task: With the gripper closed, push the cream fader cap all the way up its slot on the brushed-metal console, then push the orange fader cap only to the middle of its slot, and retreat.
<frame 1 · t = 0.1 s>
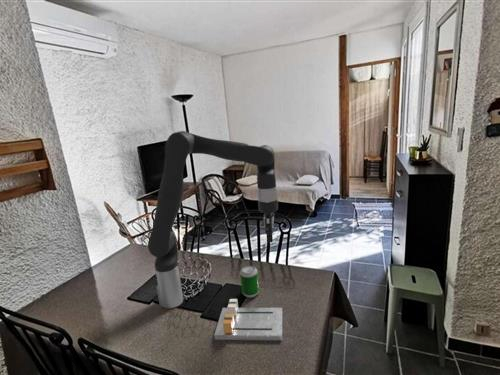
hand: (270, 237, 116), 29 cm above the table, fingers open, 8 cm apart
fader cap orange: (228, 322, 107), point 5 cm above the table, slide at 0.0 cm
soda can: (250, 293, 131), on the table
fader cap cream: (232, 306, 115), point 5 cm above the table, slide at 0.0 cm
console: (250, 325, 111), on the table
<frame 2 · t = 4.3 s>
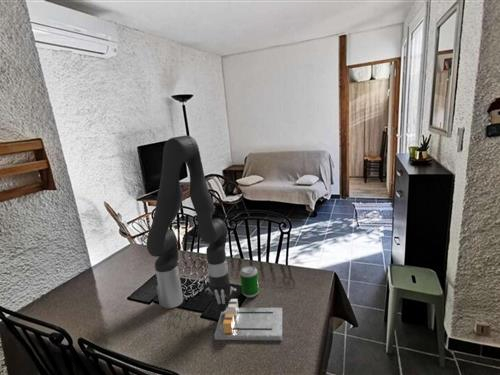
hand: (223, 310, 116), 3 cm above the table, fingers closed
fader cap cream: (233, 306, 115), point 5 cm above the table, slide at 0.1 cm, touching gripper
everything else where it was.
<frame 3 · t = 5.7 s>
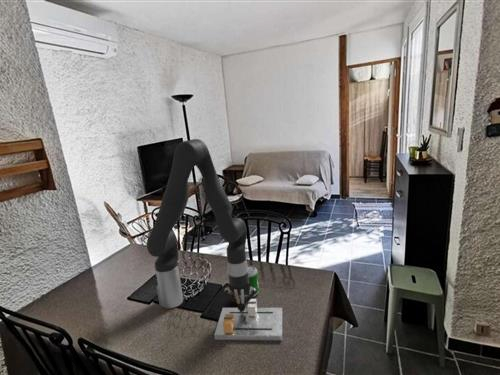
hand: (242, 310, 115), 3 cm above the table, fingers closed
fader cap cream: (252, 306, 114), point 5 cm above the table, slide at 7.7 cm, touching gripper
everything else where it was.
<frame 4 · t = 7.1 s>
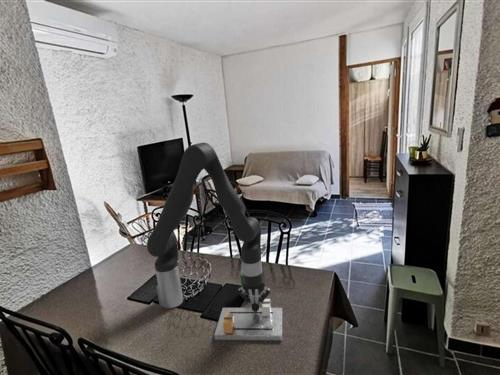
hand: (255, 310, 114), 3 cm above the table, fingers closed
fader cap cream: (266, 306, 114), point 5 cm above the table, slide at 13.1 cm, touching gripper
everything else where it was.
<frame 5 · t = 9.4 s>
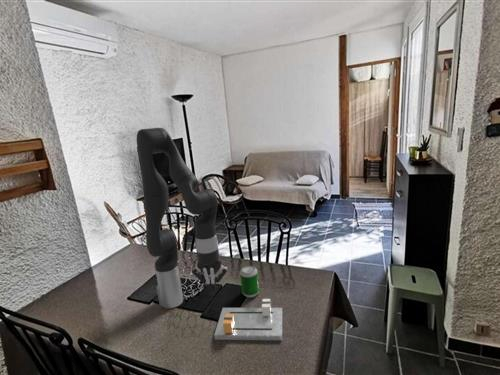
hand: (212, 291, 105), 17 cm above the table, fingers closed
fader cap cream: (266, 306, 114), point 5 cm above the table, slide at 13.1 cm
everything else where it was.
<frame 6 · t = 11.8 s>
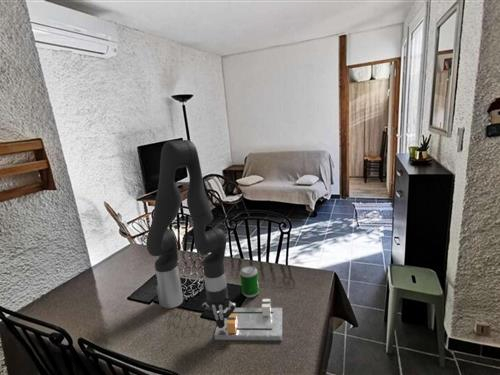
hand: (221, 326, 107), 3 cm above the table, fingers closed
fader cap orange: (232, 322, 106), point 5 cm above the table, slide at 1.3 cm, touching gripper
everything else where it was.
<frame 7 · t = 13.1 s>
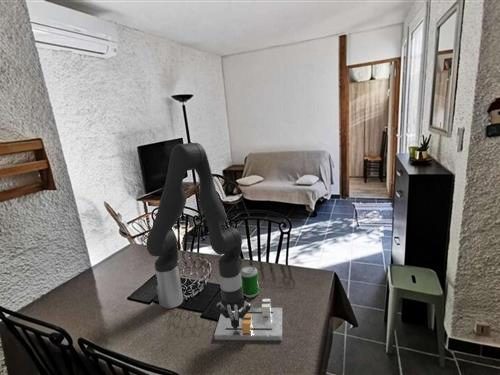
hand: (235, 326, 106), 3 cm above the table, fingers closed
fader cap orange: (247, 322, 106), point 5 cm above the table, slide at 6.7 cm, touching gripper
everything else where it was.
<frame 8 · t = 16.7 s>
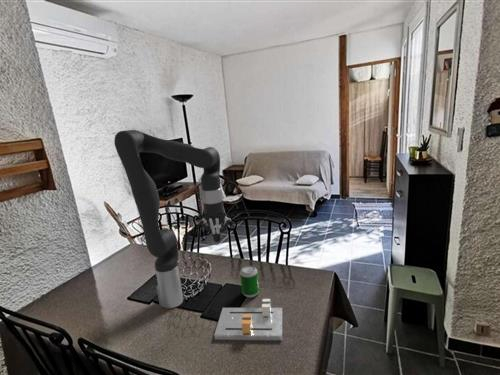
hand: (217, 241, 117), 29 cm above the table, fingers closed
fader cap orange: (247, 322, 106), point 5 cm above the table, slide at 6.7 cm
everything else where it was.
at the end: fader cap cream slide at 13.1 cm; fader cap orange slide at 6.7 cm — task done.
